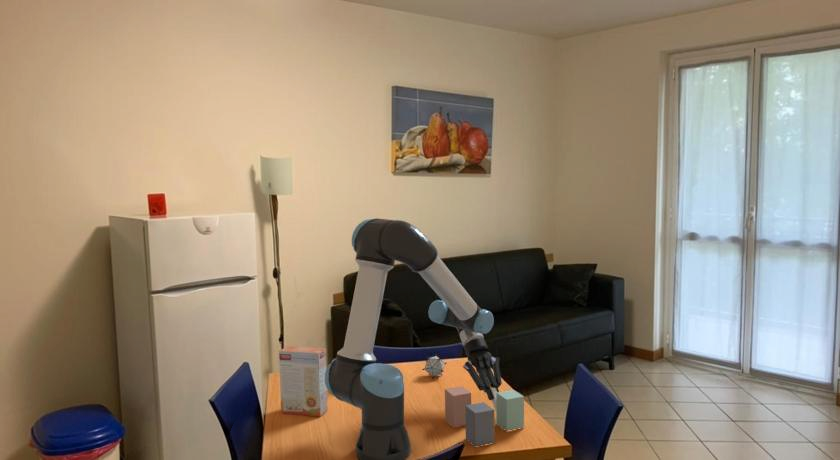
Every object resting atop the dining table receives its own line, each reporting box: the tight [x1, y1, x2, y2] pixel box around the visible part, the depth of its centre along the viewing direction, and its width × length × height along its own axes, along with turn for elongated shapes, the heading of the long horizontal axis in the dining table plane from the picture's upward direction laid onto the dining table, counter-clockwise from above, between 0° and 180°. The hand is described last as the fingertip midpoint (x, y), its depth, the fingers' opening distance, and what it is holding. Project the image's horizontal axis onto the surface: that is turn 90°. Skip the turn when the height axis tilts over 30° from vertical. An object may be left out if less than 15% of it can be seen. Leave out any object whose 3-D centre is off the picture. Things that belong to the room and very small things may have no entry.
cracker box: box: [278, 345, 328, 417], centre depth 185 cm, size 14×6×21 cm, turn 74°
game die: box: [422, 353, 448, 380], centre depth 218 cm, size 9×8×10 cm
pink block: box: [444, 385, 472, 429], centre depth 177 cm, size 6×6×10 cm
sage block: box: [495, 389, 525, 432], centre depth 173 cm, size 6×6×10 cm
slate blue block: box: [465, 401, 495, 448], centre depth 164 cm, size 6×6×10 cm
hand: (499, 408), depth 180 cm, fingers closed
